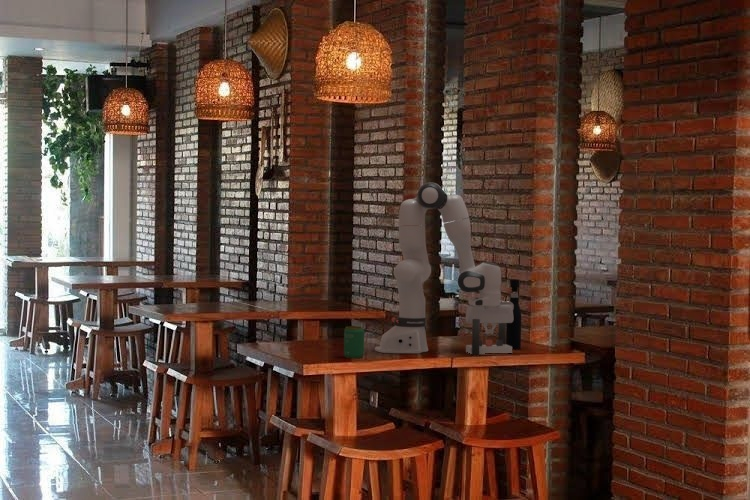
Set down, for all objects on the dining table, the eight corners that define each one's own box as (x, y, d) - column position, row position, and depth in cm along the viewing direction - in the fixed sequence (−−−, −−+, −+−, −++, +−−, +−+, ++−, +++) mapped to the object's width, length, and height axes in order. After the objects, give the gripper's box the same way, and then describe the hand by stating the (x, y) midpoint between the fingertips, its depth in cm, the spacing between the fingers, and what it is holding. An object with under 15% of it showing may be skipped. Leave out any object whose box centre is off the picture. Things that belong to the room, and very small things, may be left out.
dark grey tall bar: (473, 356, 434) (473, 319, 434) (470, 355, 437) (471, 318, 436) (480, 356, 435) (480, 319, 434) (477, 354, 438) (478, 318, 437)
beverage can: (367, 357, 425) (368, 327, 424) (351, 359, 420) (351, 329, 420) (356, 355, 431) (356, 325, 431) (340, 356, 427) (340, 326, 426)
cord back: (499, 351, 451) (500, 315, 450) (497, 350, 454) (497, 315, 453) (506, 350, 451) (506, 315, 451) (503, 350, 454) (504, 315, 454)
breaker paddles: (476, 346, 442) (476, 340, 442) (475, 345, 443) (475, 339, 443) (502, 345, 445) (502, 340, 444) (501, 345, 446) (501, 339, 446)
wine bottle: (520, 350, 455) (521, 280, 454) (505, 349, 456) (506, 279, 455) (521, 348, 461) (522, 279, 460) (506, 347, 463) (507, 279, 461)
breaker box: (470, 354, 439) (471, 347, 439) (465, 352, 446) (466, 345, 445) (512, 353, 443) (512, 346, 442) (506, 351, 449) (506, 344, 449)
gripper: (511, 300, 448) (510, 332, 449) (464, 300, 444) (464, 333, 445) (516, 301, 442) (515, 334, 443) (469, 301, 438) (468, 334, 438)
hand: (489, 333), depth 444 cm, fingers closed
